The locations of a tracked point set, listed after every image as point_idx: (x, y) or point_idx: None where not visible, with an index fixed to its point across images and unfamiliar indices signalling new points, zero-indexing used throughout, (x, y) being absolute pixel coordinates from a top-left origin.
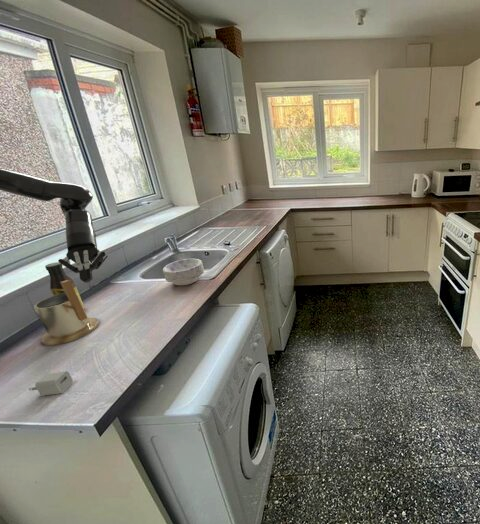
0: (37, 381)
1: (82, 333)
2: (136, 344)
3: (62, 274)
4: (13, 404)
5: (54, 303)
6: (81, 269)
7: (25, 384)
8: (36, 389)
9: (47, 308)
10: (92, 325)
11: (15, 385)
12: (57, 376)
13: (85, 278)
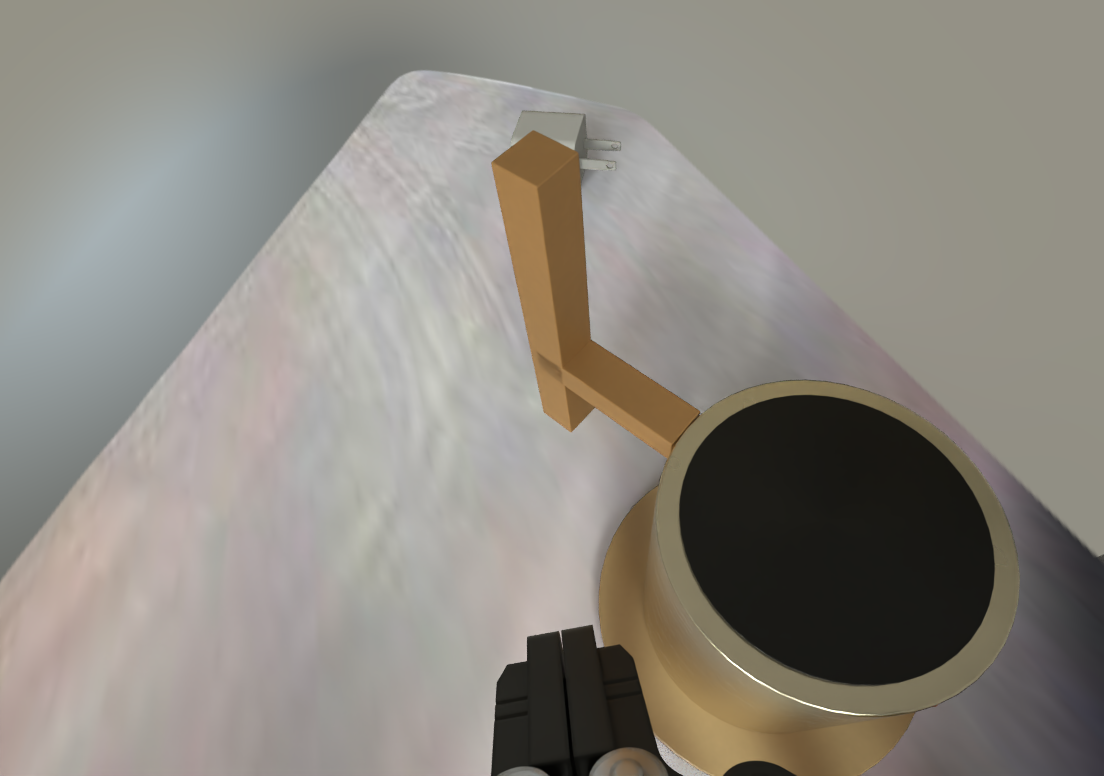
0: (582, 118)
1: (638, 508)
2: (342, 326)
3: None
4: (660, 154)
5: (781, 436)
6: (610, 764)
7: (690, 224)
8: (600, 148)
9: (793, 383)
10: (620, 599)
11: (726, 228)
12: (526, 122)
13: (554, 635)
